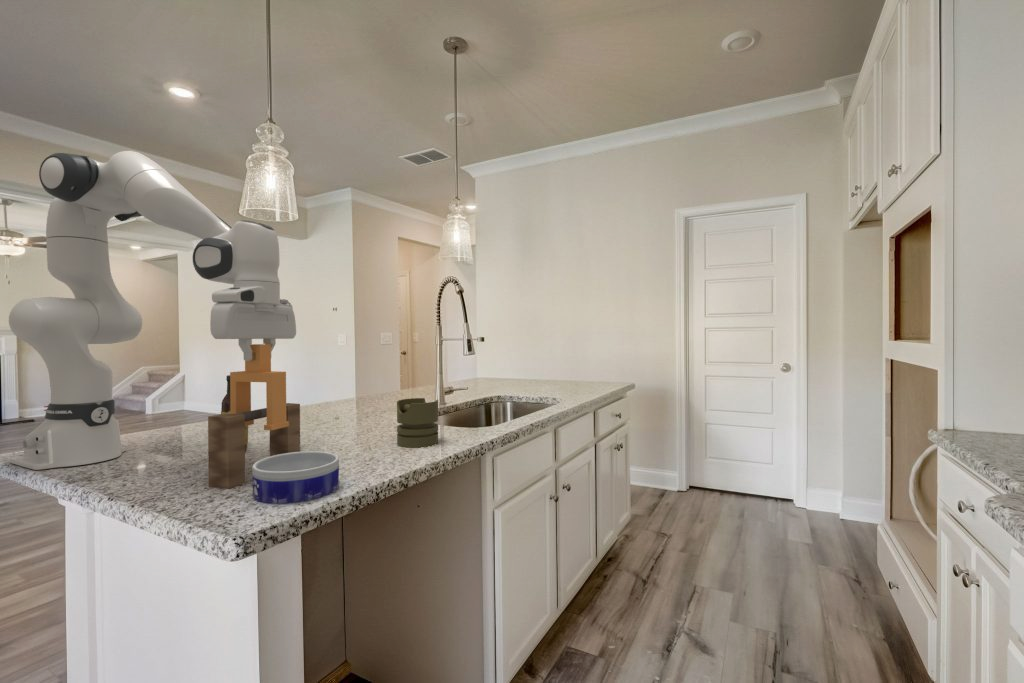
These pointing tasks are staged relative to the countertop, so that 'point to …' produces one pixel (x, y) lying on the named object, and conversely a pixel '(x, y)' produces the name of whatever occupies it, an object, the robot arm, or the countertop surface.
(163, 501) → the countertop surface
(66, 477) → the countertop surface
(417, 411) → the piston
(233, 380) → the orange stepped block
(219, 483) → the crossbar stand
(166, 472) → the countertop surface
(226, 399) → the sauce bottle
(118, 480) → the countertop surface
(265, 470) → the dog bowl
